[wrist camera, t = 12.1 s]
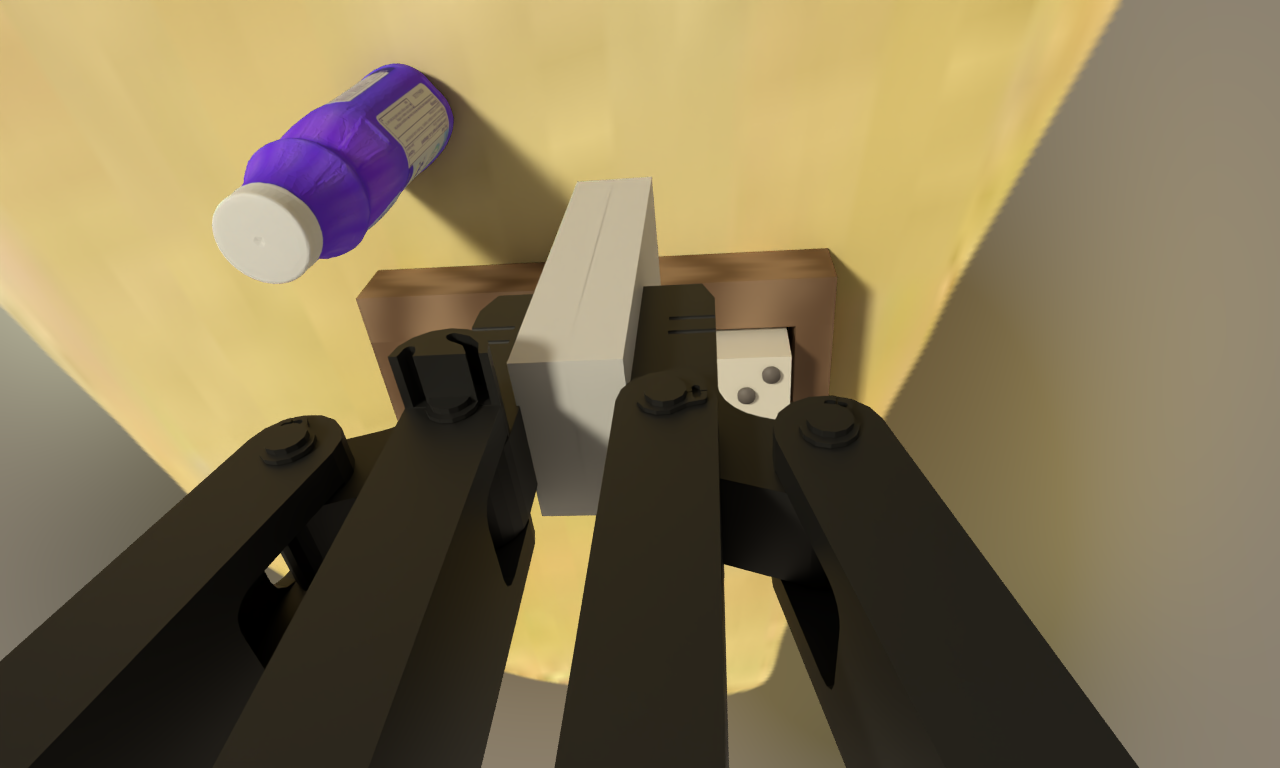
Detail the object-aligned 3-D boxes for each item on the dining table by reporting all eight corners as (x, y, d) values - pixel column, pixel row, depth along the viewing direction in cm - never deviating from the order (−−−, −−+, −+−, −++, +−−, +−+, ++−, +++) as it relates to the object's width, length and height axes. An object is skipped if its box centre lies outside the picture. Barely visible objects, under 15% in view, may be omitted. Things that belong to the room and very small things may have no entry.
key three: (704, 378, 53) (704, 434, 48) (701, 310, 50) (701, 362, 45) (780, 376, 53) (789, 432, 47) (782, 307, 49) (792, 359, 44)
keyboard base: (425, 421, 58) (409, 454, 55) (378, 270, 51) (355, 298, 47) (817, 410, 55) (824, 445, 52) (827, 248, 47) (837, 276, 44)
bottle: (400, 192, 47) (271, 334, 33) (327, 121, 45) (155, 241, 31) (477, 117, 44) (371, 239, 30) (403, 37, 42) (251, 128, 28)
